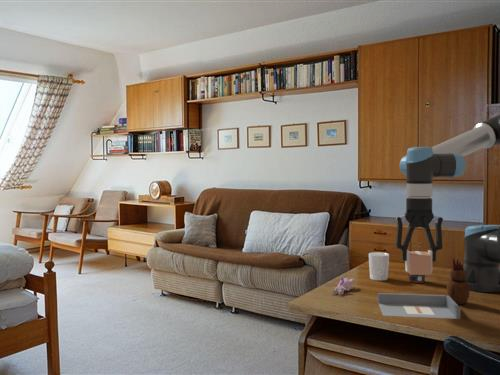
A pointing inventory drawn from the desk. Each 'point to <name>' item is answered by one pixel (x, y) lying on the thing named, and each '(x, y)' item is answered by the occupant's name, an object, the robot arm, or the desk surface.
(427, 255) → the cube
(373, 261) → the white cup
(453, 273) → the wooden figurine
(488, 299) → the desk surface
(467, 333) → the desk surface
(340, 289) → the rabbit figure
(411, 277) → the supplement bottle
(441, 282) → the desk surface
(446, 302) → the tray
